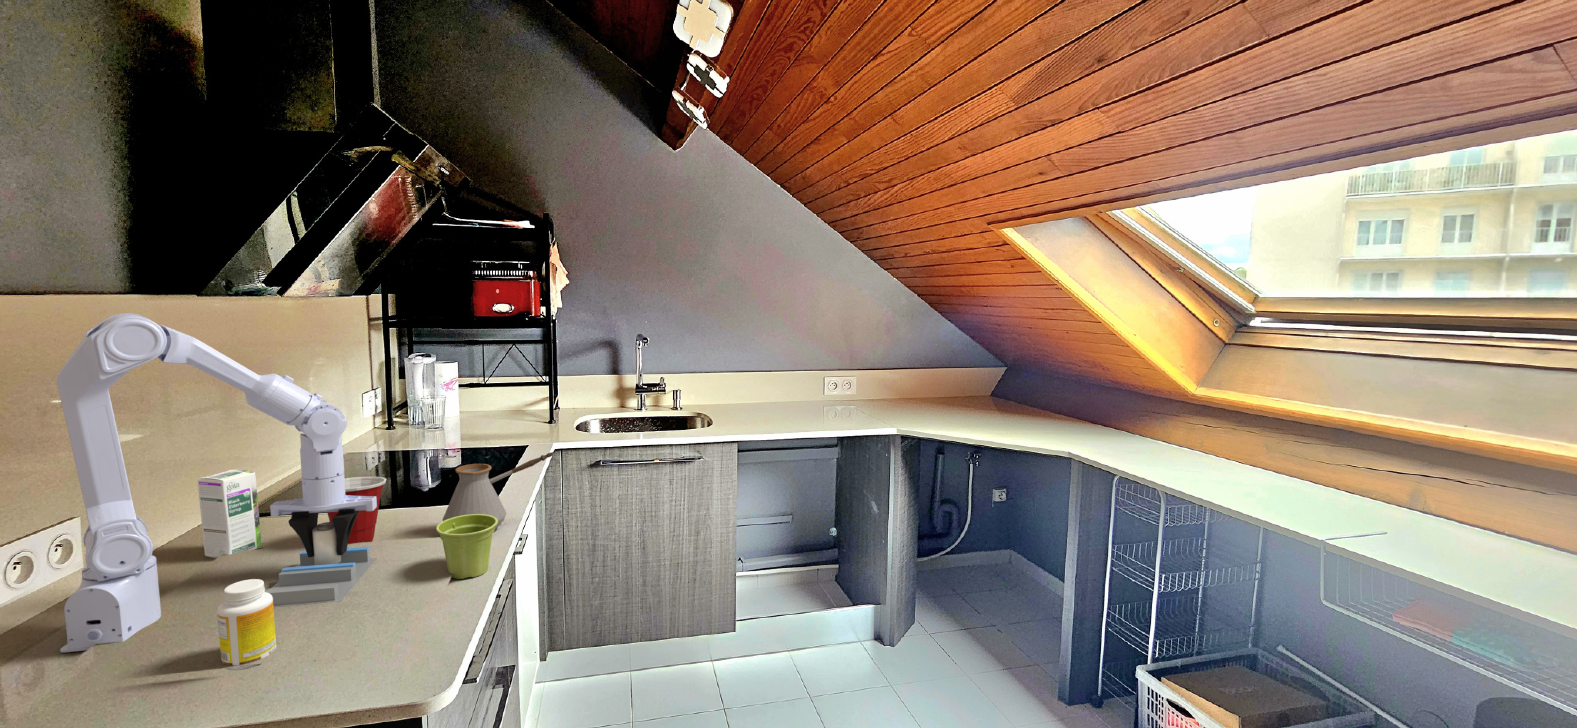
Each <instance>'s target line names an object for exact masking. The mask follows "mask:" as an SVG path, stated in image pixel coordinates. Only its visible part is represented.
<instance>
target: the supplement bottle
mask: <svg viewBox="0 0 1577 728" xmlns="http://www.w3.org/2000/svg"><path fill="white" fill-rule="evenodd" d="M265 590H266V587H265V582H264V580H262V579H259V578H257V579H256V578H251V579H244V580H240V581H236V582H234V583H232V584H228V585H227V586H226V587H225V588H224V589H223V593H224V594H223V599H224V601H223V602H221V603H220V604H219V605H218V606H217V609H216V617H217V625H218V627H217V629H218V636H219V637H218V638H219V641H218V642H219V649H220V661H221V663H222V664H224V665H226V666H225V667H223V668H224V669H226V670H228V671H242V670H247V669H251V668H255V667H258V666H260V665H261V663H253V662H257V661H259V660H261V659H264V658H267V657H268V656H269V655H271V654H273V653H274V652H275V651H276V649H277V636H276V634H277V633H276V623H275V622H276V620H275V609H274V608H275V607H273V597H272V595H271V594H269V593H267V592H265ZM250 663H253V664H250Z"/></svg>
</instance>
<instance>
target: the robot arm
mask: <svg viewBox="0 0 1577 728" xmlns="http://www.w3.org/2000/svg"><path fill="white" fill-rule="evenodd" d="M157 358H158V359H159V360H160V361H161V362H162V363H164V364H179V365H180V364H181V365H183V364H184V365H189V366H192V367H194V368H196V369H198V370H200V371H202V372H204V373H207V374H208V375H210V376H212V377H214V378H216V379H218V380H220V381H222V382H224V383H226V384H228V385H231V386H232V387H234V388H236V389H238V390H240V391H243V393H244V395H245V401H246V404H247V405H248V406H250V407H252V408H254V409H256V410H258V411H260V412H261V413H264V414H266V415H267V416H269V417H272V418H273V419H276V420H278V421H279V422H280V423H283V424H285V425H287V426H294V428H295V429H296V430H297V431H298V432H300V434H299V436H300V437H299V438H300V448H299V455H300V470H301V488H302V490H301V491H302V498H295V499H290V500H289V499H287V500H286V499H285V500H278V501H277V500H276V501H274V502H273V503H272V504H270V517H279V516H281V515H283V516H284V515H291V516H290V519H288V525H289V527H290V528H291V529H292V530H293V531H294V532H295V533H296V535H297V536H298V538H299V539H300V541H301V543H302V544H303V547H304V548H305V551H306V552H307V555H308V557H313V556H314V547H313V533H312V530H313V529H314V528H316V527H317V525H318V524H319V523H318V522H319V521H318V519H319V514H320V513H327V512H338V514H336V515H335V516H334V517H333V518H332V521H333V524H334V527H335V532H336V546H337V555H343V554H344V553H345V552H346V551H347V548H348V546H349V544H348V540H349V536H350V533H351V530H352V527H353V525H354V522H355V520H356V518H357V516H358V514H359V512H360V510H366V511H373V510H374V509H375V508H376V507H377V499H376V496H371V497H367V496H350V495H345V460H344V445H343V437H342V436H343V435H342V434H343V433H344V432H345V430H346V428H347V426H348V420H347V419H346V418H345V415H344V414H343V411H341V409H339V408H338V407H336V406H334V405H333V404H330V403H329V402H327V401H326V400H324V399H323V396H322V395H321V394H318V393H317V392H315V393H311V392H309V391H307V390H306V389H304V388H303V387H300V386H298V385H297V384H295V383H293V382H294V381H295V379H294V378H293V377H290V376H289V375H287V374H283V375H282V376H281V375H278V374H277V373H268V374H257V373H256V372H254V371H253V370H250V369H249V368H248V367H245V365H242V364H241V363H239V362H237V361H235V360H233V358H231V357H228V356H227V355H225V354H223V353H222V352H220V351H218V350H216V349H215V348H214V347H212V346H210V345H208V344H206V343H204V342H203V341H201V340H199V339H197V338H195V337H194V336H192V335H189V334H187V333H184V332H182V331H179V330H177V329H174V328H171V327H170V326H166V325H163V324H157V322H154V321H153V320H151V319H150V318H148V317H145V316H143V315H141V314H137V313H130V312H129V313H117V314H114V315H111V316H109V317H107V318H106V319H104V320H102V321H101V322H100V323H98V324H96V325H95V326H93V327H92V328H90V329H88V330H87V332H86V333H85V334H84V336H83V338H82V339H81V340H80V342H79V344H77V346H76V348H75V349H74V351H73V352H72V354H70V356H69V357H68V359H67V360H66V362H65V363H64V364H63V366H62V367H61V368H60V370H59V371H58V372H57V375H56V386H57V390H58V393H59V397H60V402H61V407H62V411H63V415H64V420H65V425H66V429H67V433H68V439H69V441H70V446H71V451H72V455H73V461H74V463H75V464H74V465H75V469H76V473H77V477H78V482H79V487H80V491H81V494H82V498H83V499H82V500H83V503H84V508H85V513H86V517H87V523H88V526H87V528H86V529H85V532H84V534H83V539H82V540H83V541H82V542H83V546H84V547H85V564H86V567H85V568H82V570H81V583H80V585H79V586H78V588H77V589H76V590H75V592H73V593H72V594H71V595H69V597H68V599H67V600H66V602H65V604H64V610H63V611H64V619H65V620H64V621H65V628H66V637H67V638H66V639H67V643H66V645H64V646H63V647H61V648H60V649H59V652H60V653H71V652H82V651H89V650H90V649H91V648H93V647H94V646H96V645H101V644H113V643H122V642H125V641H127V640H128V639H129V638H131V637H132V636H133V635H135V634H136V633H138V632H139V631H141V630H143V629H144V628H146V627H148V626H150V625H151V624H154V623H155V622H157V621H158V620H159V619H160V618H161V616H162V610H161V599H160V587H159V585H160V584H159V576H158V575H159V574H158V564H157V563H158V562H157V556H155V555H153V551H154V545H153V541H152V539H151V538H150V537H149V535H148V528H147V525H146V522H144V520H143V519H141V518H140V517H139V516H138V515H137V514H136V511H135V506H134V501H133V497H132V493H131V487H130V483H129V478H128V474H127V469H126V465H125V460H124V456H123V455H124V454H123V451H122V446H121V441H120V437H119V432H118V427H117V423H116V419H115V413H114V410H113V409H114V408H113V404H112V400H111V394H110V391H109V390H110V388H111V387H112V386H113V385H115V384H116V383H117V382H118V381H119V380H121V379H122V378H123V377H124V376H126V375H127V374H128V373H129V371H132V370H134V369H136V368H138V367H142V366H143V365H145V364H148V363H149V362H152V361H153V360H156V359H157ZM301 432H302V433H301Z"/></svg>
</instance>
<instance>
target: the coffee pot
mask: <svg viewBox="0 0 1577 728" xmlns="http://www.w3.org/2000/svg"><path fill="white" fill-rule="evenodd" d="M551 457H553V459H554V461H555V462H557V458H556V455H555V452H554V451H552V452H551V451H550V452H548V453H546V454H545V455H544V454H542V455H540V457H537V458H534V459H530V460H528V461H526V462H524V463H522V464H520V465H518V466H516V467H515V468H512V469H511V470H509V471H506V472H504V473H501V474H499V475H497V476H495V477H492V478H489V474H490V471H491V470H492V466H491V465H490V464H487V463H472V464H470V463H469V464H465V465H461V466H459V467H457V468H455V473H456V474H458V477H459V481H458V483H457V485H456V487H455V489H454V492H453V494H452V496H451V499H450V502H449V503H448V506H447V509H446V510H445V513H444V515H443V518H442V522H443V521H445V520H447V519H450V518H453V517H457V516H462V515H470V514H486V515H491V516H493V517H495V518H497V520H498V523H497V525H496V526H495V529H494V532H495V531H496V529H497V528H498V527H500V526H501V524H502V523H503V522H504V520H505V518H506V516H507V511H506V509H505V507H504V505H503V503H502V502H501V500H500V496H499V495H498V494H497V492H496V490H495V488H494V486H493V484H494V483H496V482H498V481H501V480H502V479H504V478H506V477H508V476H511V475H512V474H516V473H519V472H521V471H524V470H526V469H529V468H530V467H531V468H532V467H534V466H535V465H537V464H539V463H541V461H543V462H544V461H546V459H548V458H551Z"/></svg>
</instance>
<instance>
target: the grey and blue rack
mask: <svg viewBox="0 0 1577 728" xmlns="http://www.w3.org/2000/svg"><path fill="white" fill-rule="evenodd" d="M370 547H371V546H362V547H361V546H360V547H358V546H357V547H347V551H346V552H345V553H344V554H343V555H341V562H339V563H338V564H326V565H315V561H314V556H313V557H308V555H307V552H306V550H302V551H301V552H300V553H299V563H297V564H295V566H290V567H289V566H288V567H287V566H285V567H283V568H282V569H281V570H280V571H281V572H280V573H278V575H277V576H278V577H277V578H278V581H277V582H276V583H275V584H274V585H272V586H271V588H269V589H265V592H267V593H269V594H271V595H272V597H273V607H274V608H281V607H289V606H291V607H292V606H300V605H301V606H302V605H303V606H304V605H313V604H325V603H335V602H342V601H343V600H344V599H345V598H346V596H347V595H348V594H349V593H350V592H351V590H352V589H353V588H354V587H355V586H356V585H357V584H358V583H359V581H360V580H361V579H362V577H363V576H364V575H365V574H366V572H368V570H369V569H370V568H371V567H372V565H373V564H374V563H375V562H376V561H377V560H378V557H372V558H371V549H370Z"/></svg>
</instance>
